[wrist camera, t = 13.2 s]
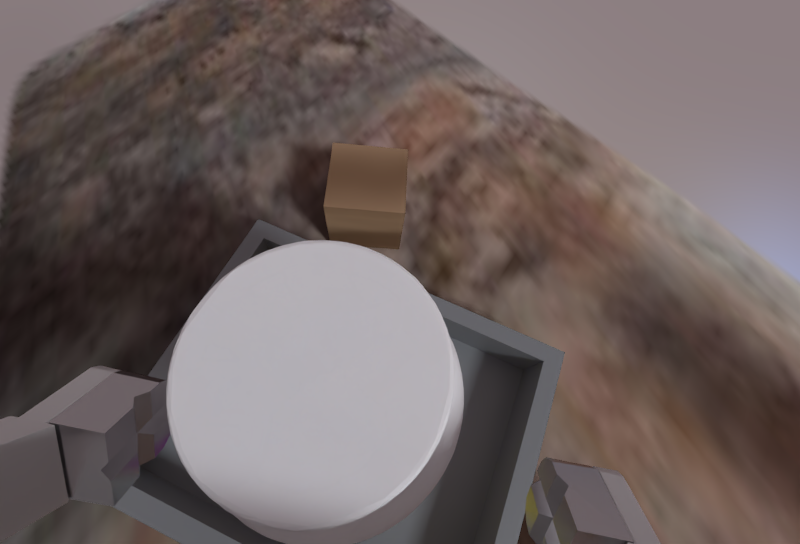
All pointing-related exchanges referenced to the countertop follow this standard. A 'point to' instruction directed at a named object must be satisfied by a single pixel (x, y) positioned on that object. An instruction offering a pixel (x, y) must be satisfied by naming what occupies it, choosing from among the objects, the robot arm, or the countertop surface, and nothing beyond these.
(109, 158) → the countertop surface
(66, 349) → the countertop surface
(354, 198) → the walnut block
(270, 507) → the supplement bottle
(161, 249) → the countertop surface
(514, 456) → the tray
